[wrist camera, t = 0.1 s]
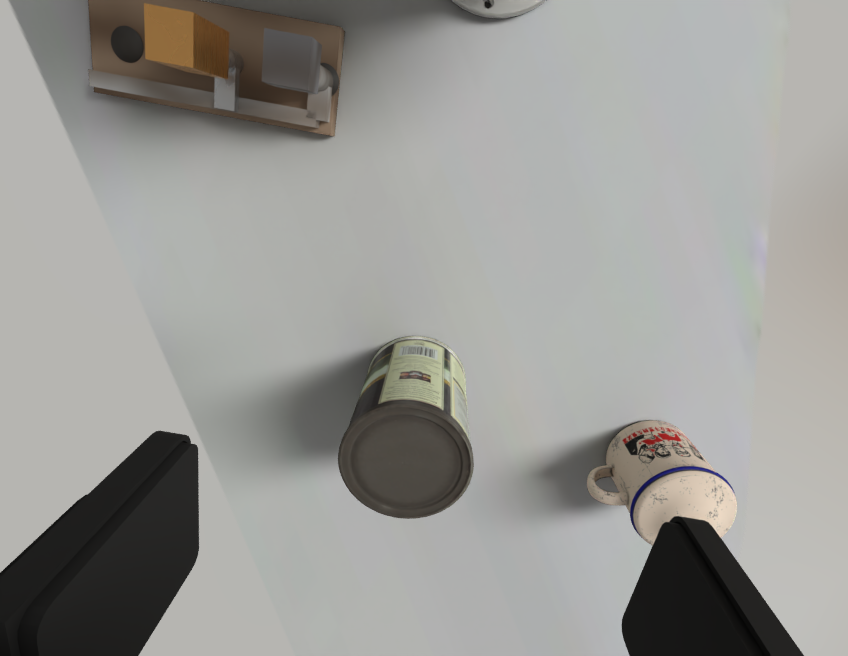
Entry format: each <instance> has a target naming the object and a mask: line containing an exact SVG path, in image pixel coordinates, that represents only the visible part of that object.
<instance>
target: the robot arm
mask: <svg viewBox="0 0 848 656" xmlns="http://www.w3.org/2000/svg"><path fill="white" fill-rule="evenodd" d="M452 1H453V2H454V3H455V4H457V5H458V6H459V7H460V8H462V9H464V10H466V11H468V12H470V13H472V14H475V15H479V16H483V17H487V18H509V17H514V16H519V15H521V14H524V13H526V12H528V11H531V10H533V9H535V8H537V7H538V6H540V5H541V4H542V3H544V2H545V1H547V0H452ZM486 2H489V3H490V4H491V7H490V8H485V6H484V4H485V3H486ZM198 507H199V505H198V447H197V445H195V444H191V441H190V438H189V436H187V435H182V434H176V433H170V432H164V431H156V432H155V433H153V434H152V435H151V436H150V437H149V438H147V440H145V441H144V442H143V443H142V444H141V445H140V446H139V447H138V448H137V449H136V450H135V451H134V452H133V453H132V454H130V456H128V457H127V458H126V459H125V460H124V461H123V462H122V463H121V464H120V465H119V466H118V467H117V468H116V469H115V470H113V471H112V472H111V473H110V474H109V475H108V476H107V477H106V478H105V479H104V480H103V481H102V482H101V483H100V484H99V485H98V486H97V487H95V488H94V489H93V490H92V491H91V492H90V493H89V494H88V495H85V496H84V497H82V498H81V499H79V500H78V501H77V502H76V503H75V504H74V505H73V506H72V507H70V508H69V509H68V510H67V511H66V512H65V513H64V514H63V515H62V516H61V517H60V518H59V519H58V520H56V521H55V522H54V523H53V524H52V525H51V526H50V527H49V528H48V529H47V530H46V531H45V532H44V533H42V534H41V535H40V536H39V537H38V538H37V539H36V540H35V541H34V542H33V543H32V544H31V545H30V546H29V547H28V548H26V549H25V550H24V551H23V552H22V553H21V554H20V555H19V556H18V557H17V558H16V559H15V560H14V561H13V562H11V563H10V564H9V565H8V566H7V567H6V568H5V569H4V570H3V571H2V572H1V573H0V656H138V655H139V654H140V652H141V650H142V649H143V647H144V646H145V644H146V642H147V641H148V639H149V637H150V636H151V634H152V633H153V631H154V629H155V628H156V626H157V625H158V623H159V621H160V620H161V618H162V616H163V615H164V613H165V612H166V610H167V608H168V607H169V605H170V604H171V602H172V600H173V599H174V597H175V596H176V594H177V592H178V591H179V589H180V587H181V586H182V584H183V583H184V581H185V579H186V578H187V576H188V575H189V573H190V571H191V570H192V568H193V566H194V564H195V562H196V559H197V556H198V551H199V514H198V513H199V511H198V510H199V509H198ZM622 634H623V638H624V641H625V644H626V647H627V649H628V652H629V655H630V656H804V655H803V654H802V652H801V651H800V649H799V648H798V647H797V645H796V644H795V642H794V641H793V640H792V638H791V637H790V635H789V634H788V633H787V631H786V630H785V628H784V627H783V626H782V624H781V623H780V621H779V620H778V618H777V617H776V616H775V614H774V613H773V611H772V610H771V609H770V607H769V606H768V604H767V603H766V601H765V600H764V599H763V598H762V596H761V594H760V593H759V592H758V590H757V589H756V587H755V586H754V585H753V583H752V582H751V580H750V579H749V577H748V576H747V575H746V573H745V572H744V570H743V569H742V568H741V566H740V565H739V563H738V562H737V560H736V559H735V558H734V556H733V555H732V553H731V552H730V551H729V549H728V548H727V546H726V545H725V543H724V542H723V541H722V539H721V538H720V536H719V535H718V534H717V532H716V531H715V529H714V528H713V527H712V525H711V524H710V523H709V522H707V521H705V520H699V519H693V518H687V517H681V516H674V517H673V518H672V519H671V520H670V522H665V523H663V524H662V526H661V528H660V530H659V532H658V535H657V537H656V539H655V542H654V544H653V547H652V549H651V551H650V554H649V556H648V558H647V561H646V563H645V566H644V568H643V570H642V573H641V575H640V577H639V580H638V582H637V585H636V587H635V589H634V592H633V594H632V596H631V599H630V601H629V604H628V606H627V608H626V611H625V613H624V615H623V619H622Z"/></svg>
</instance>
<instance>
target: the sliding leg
mask: <svg viewBox="0 0 848 656" xmlns="http://www.w3.org/2000/svg"><path fill="white" fill-rule="evenodd" d="M144 25H145V59H147V60H150V61H153V62H157V63H160V64H163V65H166V66H169V67H173V68H176V69H179V70H182V71H185V72H190V73H195V74H200V75H206V76H211V77H215V88H214V108H219V109H225V110H230V111H236V112H238V110H239V80H240V73H241V72H242V70H243V68H244V61H243V58H242V56H241V55H240V54H239V53H238V52H237V51H235V50H233V49H231V48H229V33H230V32H228V31H226V30H224V29H223V28H221V27H219V26H217V25H215V24H214V23H212V22H210V21H208V20H206V19H205V18H203V17H201V16H199V15H197V14H196V13H194V12H189V11H184V10H178V9H173V8H168V7H162V6H157V5H152V4H146V3H144Z"/></svg>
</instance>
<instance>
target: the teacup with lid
mask: <svg viewBox="0 0 848 656" xmlns="http://www.w3.org/2000/svg"><path fill="white" fill-rule="evenodd" d="M605 477H612V479H613V481H614V483H615V485H616V487H617V489H618V491H619V492H608V491H605V490H602V489H600V488H599V487H598V486H597V485H596V483H595V482H596V481H597V480H598V479H600V478H605ZM587 488H588V491H589V493H590V494H591V496H592V497H593V498H594V499H596V500H598V501H599V502H602V503H604V504H608V505H626V507H627V509H628V511H629V513H630V518H631V522H632V525H633V527H634V529H635V530H636V532H637V533H638V534H639V535H640V536H641V537H642V538H643V539H644V540H645V541H646V542H648V543H649V544H651V545H653V544H654V542H655V539H656V537H657V535H658V532H659V530H660V528H661V526H662V524H663V523H665V522H670V520H671V519H672V518H673V517H674V516H681V517H687V518H693V519H699V520H705V521H707V522H709V523H710V524H711V525H712V527H713V528H714V529H715V531H716V532H717V534H718V535H719V536H720V538H721V537H722V536H724V534H725V533H726V532H727V531H728V530H729V529H730V527H731V526H732V524H733V522H734V519H735V516H736V511H737V502H736V497H735V494H734V491H733V489H732V487H731V485H730V484H729V483H728V481H727V480H726V479H725V478H723V477H722V476H721V475H719V474H718V473H716V472H715V470H714V469H713V468H712V467H711V466H710V464H709V463H708V462H707V461H706V460H705V458H704V457H703V456H702V455H701V454H700V452H699V451H698V450H697V449H696V448H695V446H694V445H693V444H692V443H691V442H690V441H689V439H688V438H687V437H686V436H685V435H684V433H683V432H682V431H681V430H679V429H678V428H677V427H675V426H673V425H671V424H669V423H666V422H662V421H642V422H638V423H635V424H632V425H630V426H628V427H626V428H625V429H623V430H622V431H621V432H619V433H618V434H617V435H616V436H615V437H614V439H613V440H612V441H611V443H610V445H609V447H608V450H607V454H606V465H605V466H599V467H597V468H595V469H593V470H592V471H591V472H590V473H589V475H588V479H587Z"/></svg>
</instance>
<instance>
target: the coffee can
mask: <svg viewBox="0 0 848 656" xmlns="http://www.w3.org/2000/svg"><path fill="white" fill-rule="evenodd" d="M338 464H339V470H340V473H341V476H342V479H343V481H344V483H345V485H346V486H347V488H348V489H349V491H350V492H351V493H352V494H353V495H354V496H355V497H356V498H357V499H358V500H359V501H360V502H361V503H362V504H364V505H365V506H367V507H369V508H370V509H372V510H374V511H376V512H378V513H381V514H384V515H387V516H392V517H396V518H407V519H410V518H421V517H427V516H431V515H433V514H436V513H439V512H441V511H443V510H445V509H446V508H448V507H450V506H451V505H452V504H454V503H455V502H456V501H457V500H458V499H459V498H460V497H461V496H462V495H463V493H464V492H465V491H466V489H467V487H468V485H469V483H470V480H471V477H472V474H473V467H474V463H473V453H472V448H471V444H470V436H469V424H468V412H467V400H466V377H465V372H464V369H463V365H462V363H461V362H460V360H459V358H458V357H457V356H456V354H455V353H454V352H453V351H452V350H451V349H450V348H449V347H447V346H446V345H444V344H443V343H441V342H439V341H437V340H435V339H431V338H427V337H421V336H409V337H403V338H399V339H396V340H394V341H392V342H390V343H388V344H387V345H385V346H384V347H383V348H381V349H380V350H379V351H378V353H377V354H376V355H375V356H374V358H373V360H372V361H371V363H370V366H369V369H368V374H367V377H366V380H365V383H364V386H363V389H362V392H361V394H360V397H359V400H358V403H357V405H356V408H355V411H354V414H353V416H352V419H351V421H350V425H349V427H348V429H347V431H346V432H345V434H344V437H343V439H342V441H341V444H340V448H339V453H338Z"/></svg>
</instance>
